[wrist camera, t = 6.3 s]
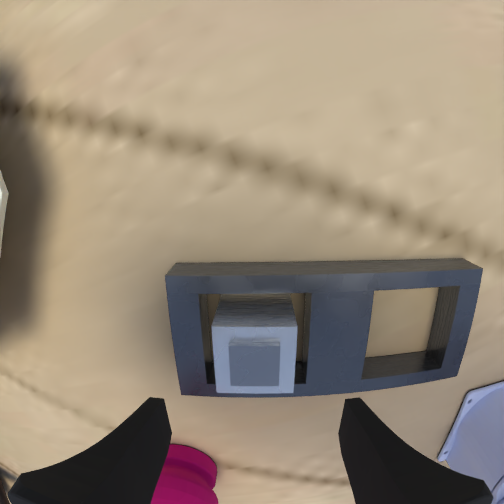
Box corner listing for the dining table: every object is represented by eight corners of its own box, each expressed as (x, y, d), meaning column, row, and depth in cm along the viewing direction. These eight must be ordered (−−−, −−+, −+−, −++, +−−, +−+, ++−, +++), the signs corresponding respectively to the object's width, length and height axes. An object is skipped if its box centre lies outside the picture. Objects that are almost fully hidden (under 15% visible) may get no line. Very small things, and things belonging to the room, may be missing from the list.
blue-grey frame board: (442, 358, 21) (456, 376, 18) (188, 373, 21) (181, 394, 19) (462, 258, 19) (482, 268, 16) (176, 263, 19) (164, 275, 17)
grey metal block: (286, 346, 21) (294, 397, 15) (225, 346, 21) (215, 397, 15) (289, 289, 20) (298, 330, 14) (223, 289, 20) (210, 330, 14)
